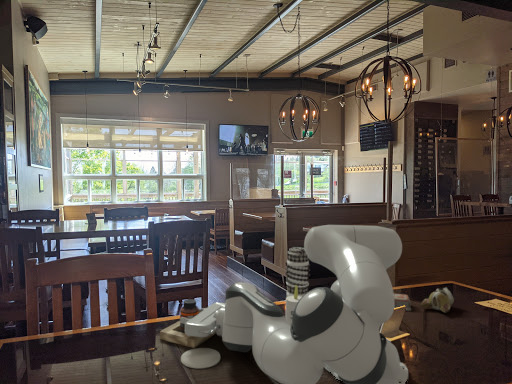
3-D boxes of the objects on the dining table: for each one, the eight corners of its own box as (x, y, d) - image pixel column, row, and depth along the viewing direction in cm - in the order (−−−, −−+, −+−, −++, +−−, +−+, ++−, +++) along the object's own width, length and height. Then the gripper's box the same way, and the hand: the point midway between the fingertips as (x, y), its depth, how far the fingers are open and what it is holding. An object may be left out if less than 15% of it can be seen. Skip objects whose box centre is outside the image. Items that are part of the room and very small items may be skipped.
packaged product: (408, 292, 161) (411, 300, 151) (407, 303, 161) (411, 312, 151) (362, 288, 165) (363, 295, 155) (362, 299, 165) (363, 307, 155)
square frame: (217, 332, 128) (217, 324, 128) (194, 348, 117) (194, 339, 117) (185, 324, 134) (185, 317, 134) (160, 339, 123) (160, 331, 122)
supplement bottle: (194, 340, 122) (195, 304, 121) (176, 338, 123) (177, 303, 123) (201, 332, 128) (201, 298, 127) (184, 331, 129) (184, 297, 128)
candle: (283, 331, 130) (284, 287, 129) (287, 324, 136) (288, 282, 135) (301, 334, 128) (302, 289, 127) (305, 327, 134) (306, 284, 133)
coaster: (227, 355, 113) (227, 352, 113) (206, 372, 103) (206, 370, 103) (196, 346, 118) (196, 344, 118) (172, 362, 108) (172, 360, 108)
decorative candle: (303, 321, 139) (304, 251, 138) (280, 316, 144) (281, 248, 142) (313, 313, 147) (314, 247, 145) (291, 308, 152) (292, 244, 150)
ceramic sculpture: (460, 286, 155) (446, 296, 145) (460, 307, 156) (446, 319, 145) (433, 281, 163) (418, 290, 152) (433, 301, 163) (418, 312, 153)
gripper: (210, 345, 111) (169, 337, 116) (238, 320, 130) (202, 314, 135) (210, 324, 111) (169, 316, 116) (239, 301, 130) (202, 296, 135)
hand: (187, 315), depth 125 cm, fingers closed on supplement bottle, 6 cm apart
